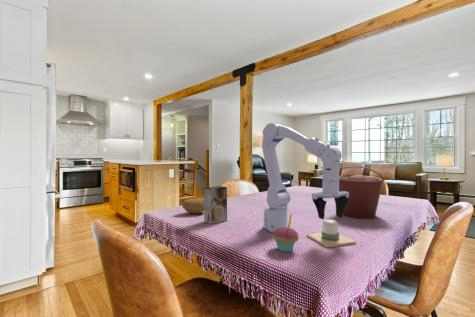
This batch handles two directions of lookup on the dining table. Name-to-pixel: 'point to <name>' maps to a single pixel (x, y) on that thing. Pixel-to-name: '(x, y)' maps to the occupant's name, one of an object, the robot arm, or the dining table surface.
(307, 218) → the dining table surface
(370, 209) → the bucket
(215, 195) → the coffee box
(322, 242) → the beige square tray
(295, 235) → the cupcake
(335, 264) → the dining table surface
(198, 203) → the potato
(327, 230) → the cap
